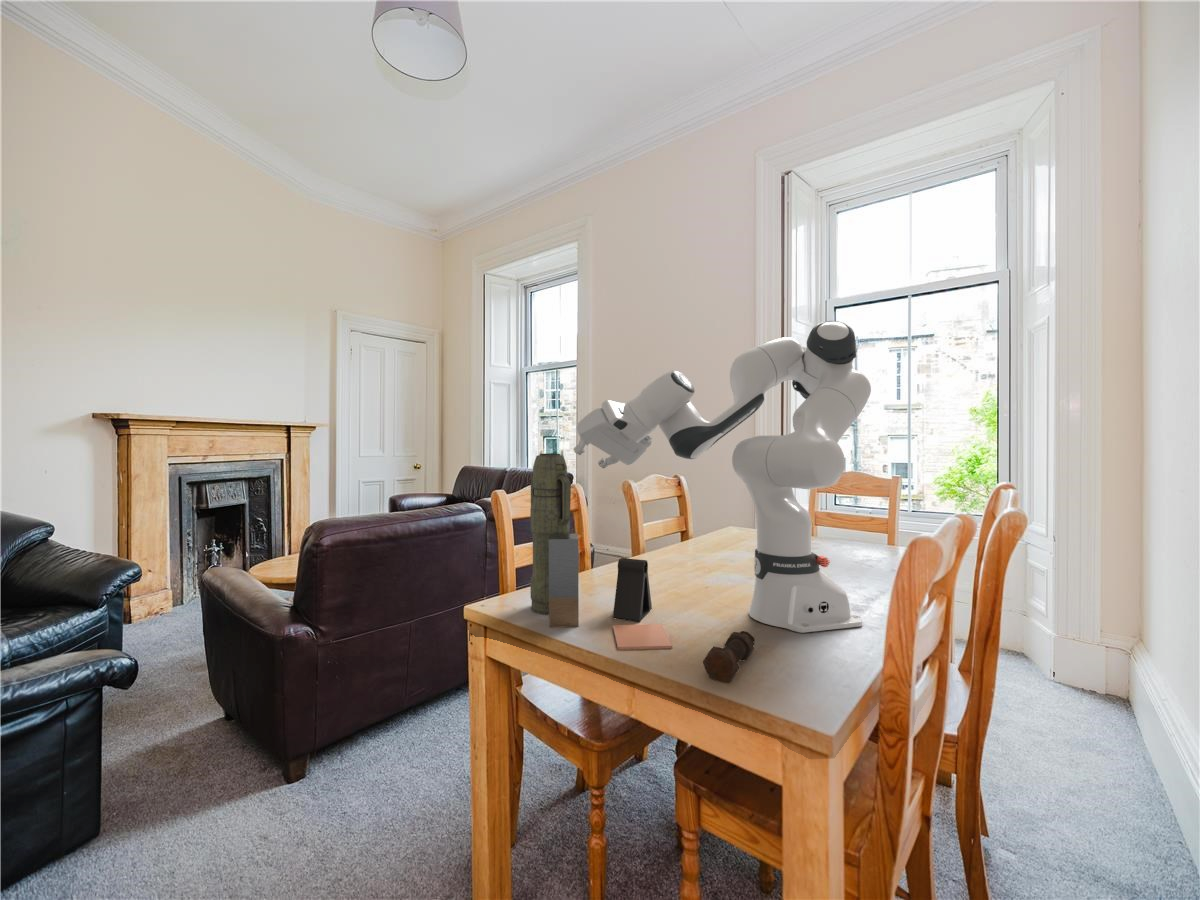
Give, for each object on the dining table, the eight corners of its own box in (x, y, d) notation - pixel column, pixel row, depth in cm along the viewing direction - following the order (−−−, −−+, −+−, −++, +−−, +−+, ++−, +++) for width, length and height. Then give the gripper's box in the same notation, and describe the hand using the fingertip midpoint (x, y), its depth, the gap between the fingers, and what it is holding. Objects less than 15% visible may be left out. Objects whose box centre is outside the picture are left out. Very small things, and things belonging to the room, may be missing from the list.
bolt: (750, 660, 95) (723, 691, 82) (727, 641, 97) (697, 669, 85) (766, 635, 94) (742, 664, 81) (742, 617, 96) (715, 642, 83)
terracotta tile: (661, 626, 107) (661, 624, 107) (672, 648, 96) (672, 645, 96) (613, 627, 106) (613, 625, 106) (618, 649, 95) (618, 647, 95)
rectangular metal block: (579, 616, 113) (579, 533, 112) (580, 626, 107) (579, 539, 106) (550, 617, 112) (549, 533, 112) (549, 627, 106) (548, 539, 106)
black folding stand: (627, 606, 120) (627, 554, 119) (652, 609, 117) (652, 556, 117) (612, 618, 111) (612, 562, 111) (639, 622, 109) (639, 565, 109)
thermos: (557, 619, 111) (557, 454, 110) (518, 608, 118) (517, 453, 117) (583, 608, 118) (583, 453, 117) (544, 598, 125) (544, 452, 124)
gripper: (650, 431, 131) (609, 464, 136) (601, 396, 117) (557, 434, 121) (660, 449, 127) (618, 482, 132) (610, 415, 113) (565, 453, 117)
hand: (588, 459), depth 126 cm, fingers open, 8 cm apart
